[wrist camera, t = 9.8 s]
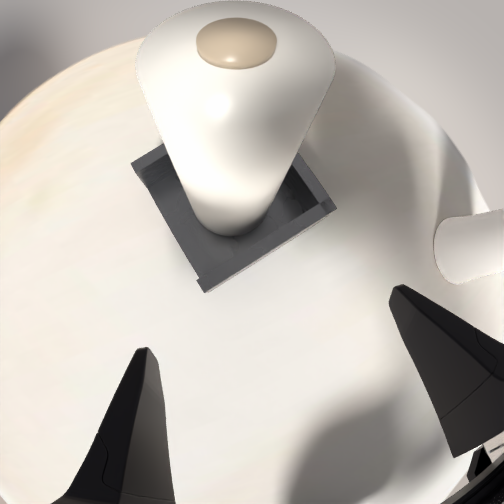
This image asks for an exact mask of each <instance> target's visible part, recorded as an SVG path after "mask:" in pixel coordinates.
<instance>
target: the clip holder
mask: <svg viewBox="0 0 504 504" xmlns="http://www.w3.org/2000/svg"><path fill="white" fill-rule="evenodd" d="M131 165H132V167H133V169H134V171H135V173H136V174H137V176H138V177H139V178H140V179H141V181H142V182H143V183H144V185H145V186H146V187H147V188H148V190H149V192H150V194H151V196H152V198H153V199H154V201H155V203H156V205H157V207H158V208H159V210H160V212H161V214H162V216H163V217H164V219H165V221H166V223H167V224H168V226H169V228H170V230H171V231H172V233H173V235H174V237H175V238H176V240H177V242H178V243H179V245H180V247H181V248H182V250H183V252H184V253H185V255H186V257H187V259H188V260H189V262H190V263H191V265H192V267H193V268H194V270H195V272H196V273H197V275H198V277H199V279H197V282H198V284H199V285H200V287H201V289H202V290H203V292H204V293H207V292H210V291H212V290H213V289H215V288H217V287H218V286H220V285H221V284H223V283H225V282H226V281H228V280H229V279H231V278H233V277H234V276H236V275H237V274H239V273H240V272H242V271H244V270H245V269H247V268H248V267H250V266H252V265H253V264H255V263H256V262H258V261H259V260H261V259H263V258H264V257H266V256H267V255H269V254H270V253H272V252H274V251H275V250H277V249H278V248H280V247H281V246H283V245H284V244H286V243H288V242H289V241H291V240H292V239H294V238H295V237H297V236H299V235H300V234H302V233H303V232H305V231H306V230H308V229H309V228H311V227H312V226H314V225H316V224H317V223H319V222H320V221H321V220H323V219H324V218H325V217H327V216H328V215H329V214H331V213H332V212H333V211H334V210H336V209H337V207H336V206H335V204H334V203H333V201H332V200H331V198H330V197H329V196H328V194H327V193H326V191H325V190H324V188H323V187H322V185H321V184H320V182H319V181H318V180H317V178H316V177H315V175H314V174H313V173H312V171H311V170H310V168H309V167H308V166H307V164H306V163H305V162H304V160H303V159H302V157H301V156H300V155H299V153H298V152H297V153H296V155H295V157H294V159H293V161H292V163H291V166H290V168H289V170H288V172H287V174H286V176H285V178H284V180H283V182H282V184H281V186H280V188H279V190H278V192H277V194H276V196H275V198H274V200H273V202H272V204H271V206H270V208H269V210H268V212H267V214H266V216H265V218H264V219H263V221H262V222H261V223H260V224H259V225H258V226H257V227H256V228H255V229H253V230H252V231H250V232H248V233H246V234H243V235H238V236H223V235H219V234H216V233H214V232H211V231H210V230H208V229H207V228H205V227H204V226H203V225H202V224H201V223H200V222H199V220H198V219H197V217H196V215H195V213H194V211H193V209H192V206H191V204H190V202H189V200H188V197H187V195H186V193H185V191H184V188H183V186H182V184H181V182H180V179H179V177H178V175H177V172H176V170H175V168H174V166H173V163H172V161H171V159H170V156H169V154H168V152H167V149H166V147H165V145H164V144H162V145H160V146H158V147H157V148H155V149H153V150H152V151H150V152H148V153H147V154H145V155H143V156H142V157H140V158H139V159H137V160H135V161H134V162H132V163H131Z"/></svg>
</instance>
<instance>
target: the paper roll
mask: <svg viewBox="0 0 504 504" xmlns="http://www.w3.org/2000/svg"><path fill="white" fill-rule="evenodd" d="M135 69H136V74H137V78H138V80H139V83H140V86H141V88H142V91H143V93H144V96H145V98H146V101H147V103H148V106H149V108H150V111H151V113H152V116H153V118H154V120H155V123H156V125H157V128H158V130H159V133H160V135H161V137H162V140H163V142H164V145H165V147H166V149H167V152H168V154H169V156H170V159H171V161H172V163H173V166H174V168H175V170H176V172H177V175H178V177H179V179H180V182H181V184H182V186H183V188H184V191H185V193H186V195H187V197H188V200H189V202H190V204H191V206H192V209H193V211H194V213H195V215H196V217H197V219H198V220H199V222H200V223H201V224H202V225H203V226H204V227H205V228H207V229H208V230H210V231H211V232H214V233H216V234H219V235H223V236H238V235H243V234H246V233H248V232H250V231H252V230H253V229H255V228H256V227H257V226H258V225H259V224H260V223H261V222H262V221H263V219H264V218H265V216H266V214H267V212H268V210H269V208H270V206H271V204H272V202H273V200H274V198H275V196H276V194H277V192H278V190H279V188H280V186H281V184H282V182H283V180H284V178H285V176H286V174H287V172H288V170H289V168H290V166H291V163H292V161H293V159H294V157H295V155H296V153H297V151H298V149H299V147H300V145H301V143H302V141H303V139H304V137H305V135H306V133H307V131H308V129H309V127H310V125H311V123H312V121H313V119H314V117H315V115H316V113H317V111H318V109H319V107H320V105H321V103H322V101H323V99H324V97H325V95H326V93H327V91H328V89H329V87H330V85H331V83H332V80H333V78H334V74H335V57H334V53H333V51H332V49H331V46H330V45H329V43H328V41H327V40H326V39H325V38H324V36H323V35H322V34H321V33H320V32H319V31H318V30H317V29H316V28H315V27H314V26H313V25H311V24H310V23H309V22H307V21H306V20H304V19H303V18H301V17H299V16H298V15H296V14H293V13H292V12H289V11H287V10H284V9H282V8H279V7H276V6H272V5H268V4H264V3H258V2H251V1H219V2H212V3H206V4H202V5H199V6H194V7H192V8H189V9H186V10H183V11H181V12H179V13H177V14H175V15H173V16H171V17H169V18H168V19H166V20H165V21H163V22H162V23H160V24H159V25H158V26H157V27H156V28H154V29H153V30H152V31H151V32H150V34H149V35H148V36H147V37H146V38H145V40H144V41H143V43H142V44H141V46H140V48H139V50H138V53H137V57H136V65H135Z"/></svg>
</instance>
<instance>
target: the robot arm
mask: <svg viewBox="0 0 504 504" xmlns="http://www.w3.org/2000/svg"><path fill="white" fill-rule="evenodd" d="M389 307H390V310H391V312H392V314H393V317H394V319H395V322H396V324H397V327H398V330H399V332H400V335H401V337H402V339H403V341H404V344H405V346H406V348H407V350H408V352H409V354H410V356H411V358H412V360H413V362H414V364H415V366H416V368H417V370H418V372H419V374H420V377H421V379H422V381H423V383H424V385H425V388H426V390H427V392H428V394H429V397H430V399H431V401H432V404H433V406H434V408H435V411H436V413H437V416H438V418H439V421H440V423H441V426H442V429H443V431H444V434H445V436H446V439H447V442H448V444H449V447H450V450H451V453H452V456H453V458H455V457H457V456H460V455H462V454H464V453H466V452H468V451H470V450H472V449H474V448H476V447H478V446H479V445H481V444H482V446H481V447H479V448H478V449H477V450H476V451H474V453H473V457H472V460H471V464H470V467H469V470H468V473H467V478H468V480H469V483H468V484H467V485H466V486H464V487H463V488H462V489H461V490H459V491H458V492H457V493H455V494H454V495H453V496H451V497H449V498H448V499H447V500H445V501H444V502H442V503H441V504H504V344H502V343H501V342H499V341H497V340H495V339H493V338H492V337H490V336H488V335H487V334H485V333H483V332H482V331H480V330H478V329H477V328H475V327H474V326H472V325H471V324H469V323H467V322H466V321H464V320H463V319H461V318H459V317H458V316H456V315H455V314H453V313H451V312H450V311H448V310H446V309H445V308H443V307H441V306H440V305H438V304H436V303H435V302H433V301H431V300H430V299H428V298H426V297H425V296H423V295H421V294H420V293H418V292H416V291H415V290H413V289H411V288H409V287H408V286H406V285H404V284H401V285H398V286H395V287H394V288H393V290H392V293H391V296H390V299H389ZM51 504H176V502H175V497H174V490H173V483H172V476H171V468H170V460H169V450H168V440H167V428H166V415H165V402H164V396H163V390H162V384H161V378H160V371H159V364H158V361H157V359H156V357H155V356H154V354H153V353H152V351H151V350H150V349H149V348H148V347H144V348H138V349H137V350H136V351H135V353H134V355H133V357H132V359H131V361H130V363H129V365H128V367H127V369H126V371H125V373H124V376H123V378H122V380H121V382H120V384H119V386H118V388H117V390H116V392H115V394H114V397H113V399H112V401H111V403H110V405H109V407H108V410H107V412H106V414H105V416H104V418H103V421H102V423H101V425H100V427H99V430H98V433H97V434H96V436H95V439H94V441H93V443H92V445H91V448H90V450H89V452H88V454H87V456H86V458H85V460H84V462H83V464H82V465H81V467H80V469H79V471H78V473H77V474H76V476H75V478H74V480H73V482H72V484H71V486H70V487H69V489H68V490H67V491H66V493H65V494H64V495H63V496H62V497H60V498H59V499H57V500H56V501H54V502H53V503H51Z"/></svg>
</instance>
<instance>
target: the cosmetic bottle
mask: <svg viewBox="0 0 504 504" xmlns="http://www.w3.org/2000/svg"><path fill="white" fill-rule="evenodd" d="M434 255H435V260H436V263H437V266H438V268H439V270H440V272H441V274H442V275H443V277H444V278H445V279H446V280H447V281H449V282H450V283H452V284H462V283H465V282H468V281H471V280H474V279H477V278H481V277H484V276H488V275H491V274H495V273H500V272H504V208H503V209H499V210H495V211H491V212H486V213H481V214H476V215H469V216H462V217H450V218H447V219H445V220H443V221H442V222H441V223H440V225H439V226H438V228H437V231H436V234H435V238H434Z"/></svg>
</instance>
